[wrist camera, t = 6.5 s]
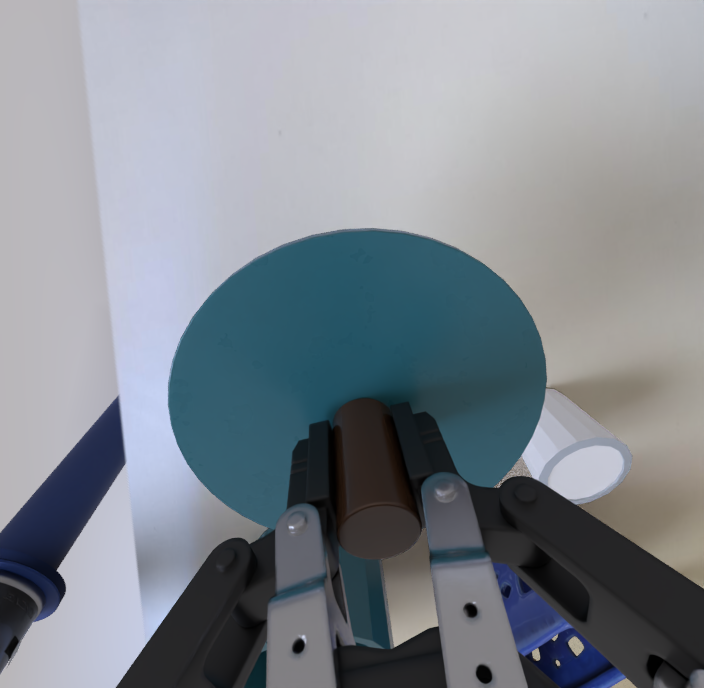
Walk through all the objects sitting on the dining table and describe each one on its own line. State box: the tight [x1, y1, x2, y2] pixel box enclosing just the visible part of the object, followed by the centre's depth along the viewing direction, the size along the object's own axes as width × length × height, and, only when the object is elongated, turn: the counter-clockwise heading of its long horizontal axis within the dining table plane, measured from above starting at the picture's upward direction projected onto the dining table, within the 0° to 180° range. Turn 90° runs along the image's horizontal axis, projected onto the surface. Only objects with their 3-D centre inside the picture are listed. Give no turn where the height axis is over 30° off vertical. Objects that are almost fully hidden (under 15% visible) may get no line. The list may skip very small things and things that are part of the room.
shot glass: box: [521, 388, 632, 505], centre depth 30 cm, size 7×7×7 cm
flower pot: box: [492, 562, 626, 688], centre depth 36 cm, size 13×13×12 cm
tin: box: [244, 528, 394, 688], centre depth 35 cm, size 14×19×10 cm
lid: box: [168, 228, 547, 560], centre depth 13 cm, size 15×15×6 cm
